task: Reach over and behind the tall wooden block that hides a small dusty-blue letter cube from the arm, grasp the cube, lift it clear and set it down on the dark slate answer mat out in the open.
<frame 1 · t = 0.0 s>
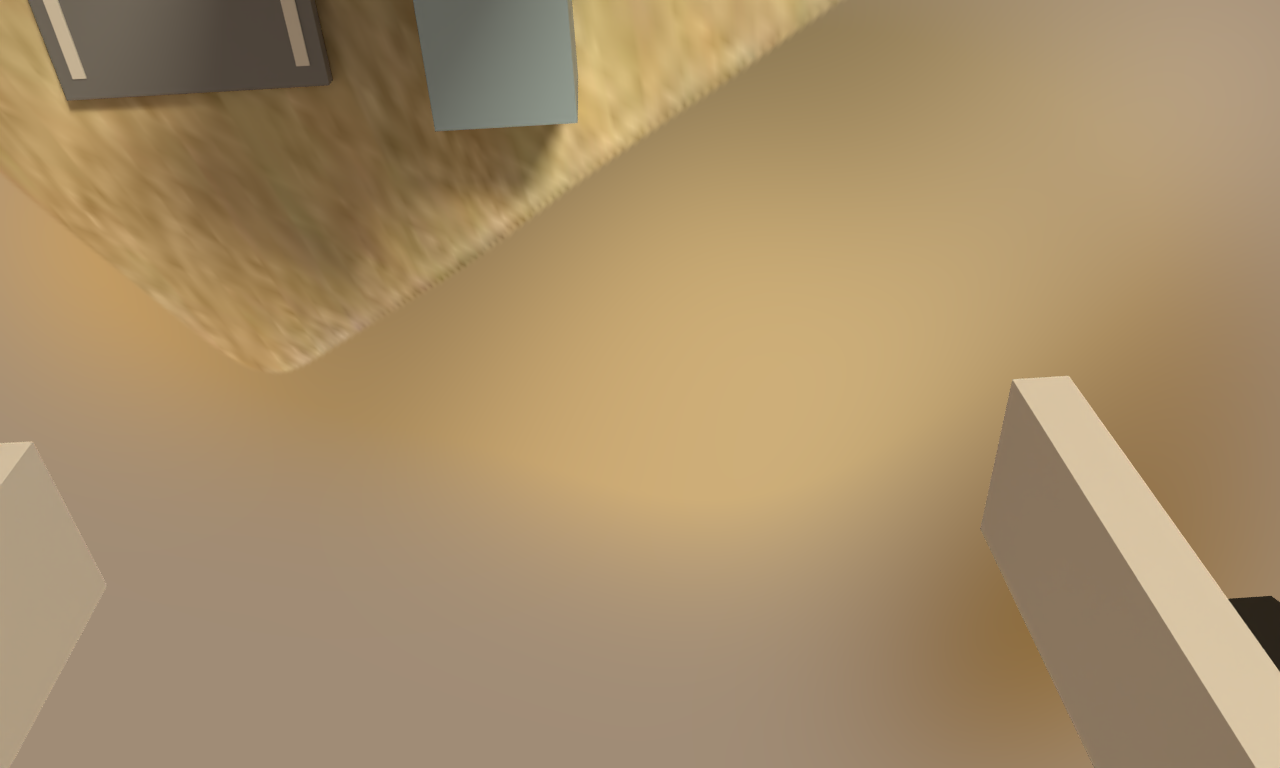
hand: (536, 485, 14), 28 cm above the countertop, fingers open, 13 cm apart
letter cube: (506, 15, 37), on the countertop
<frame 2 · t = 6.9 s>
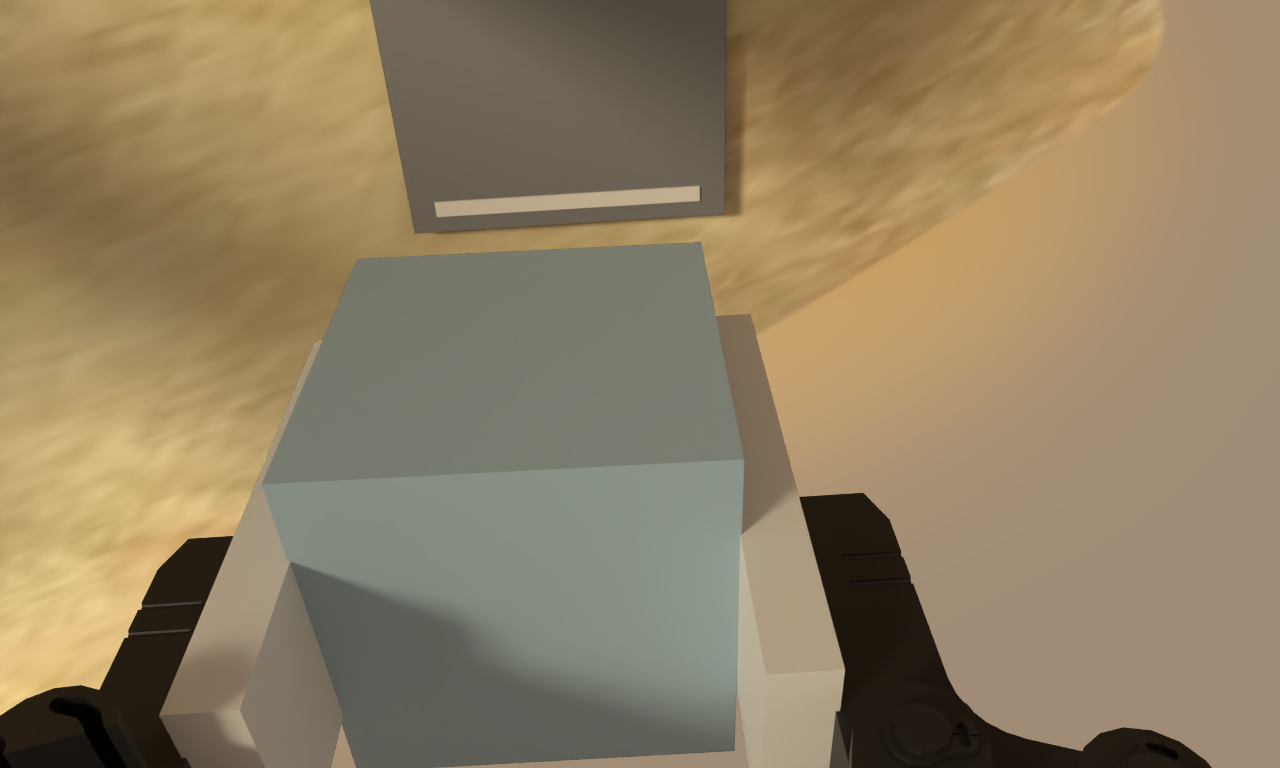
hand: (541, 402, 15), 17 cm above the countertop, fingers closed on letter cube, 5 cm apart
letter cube: (544, 390, 16), point 17 cm above the countertop, touching gripper
answer mat: (556, 62, 29), on the countertop
when the fingers open (1 cm above the countertop, at t = 9.5 s): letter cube stays where it is, resting on answer mat.
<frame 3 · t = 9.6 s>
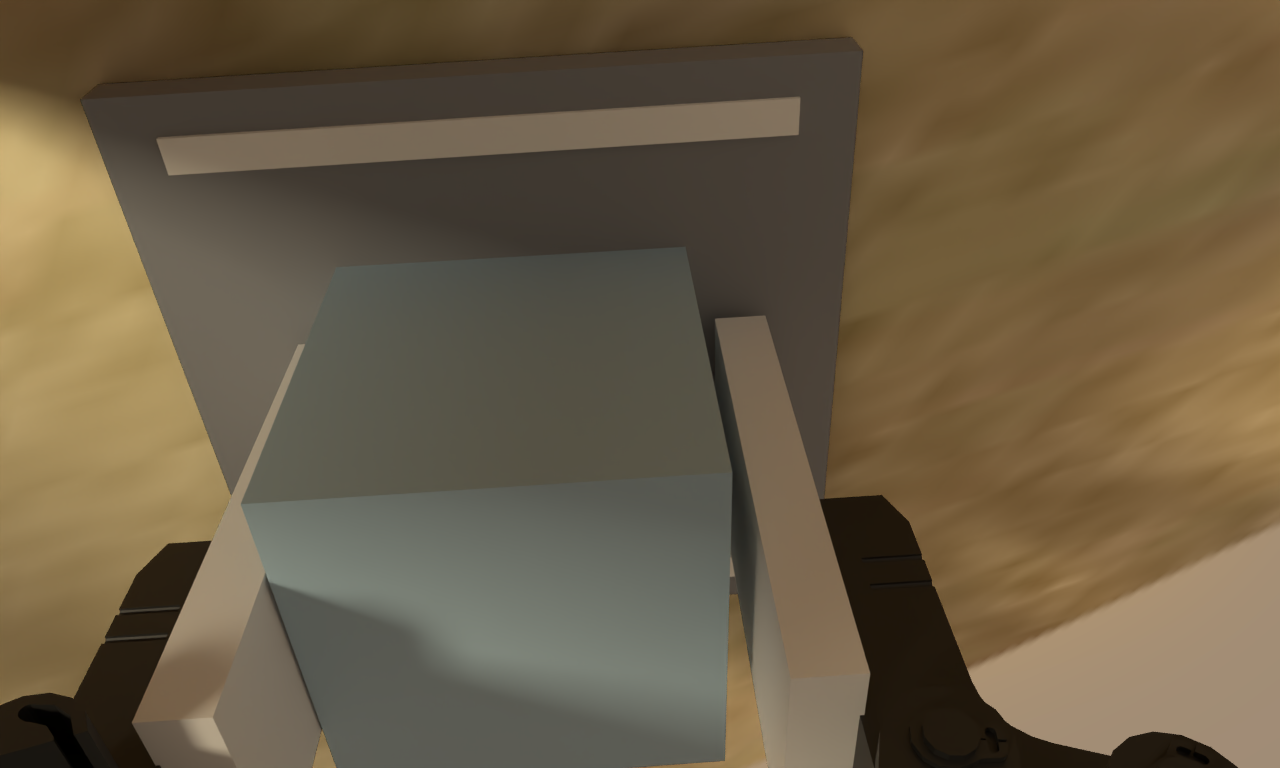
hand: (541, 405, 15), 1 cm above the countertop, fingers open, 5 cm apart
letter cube: (529, 397, 15), point 1 cm above the countertop, touching answer mat, gripper
answer mat: (521, 369, 16), on the countertop
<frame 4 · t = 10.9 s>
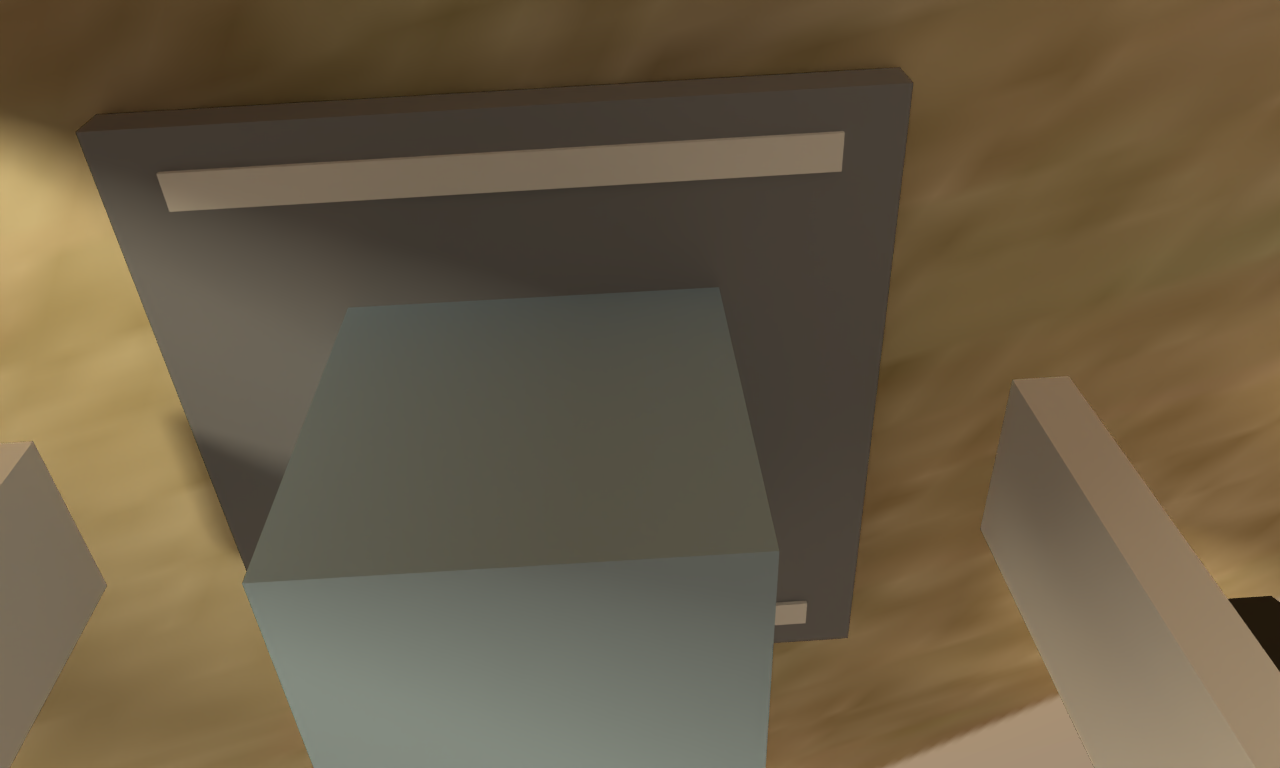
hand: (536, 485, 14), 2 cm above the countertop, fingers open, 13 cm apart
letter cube: (550, 442, 15), point 1 cm above the countertop, touching answer mat
answer mat: (541, 412, 15), on the countertop
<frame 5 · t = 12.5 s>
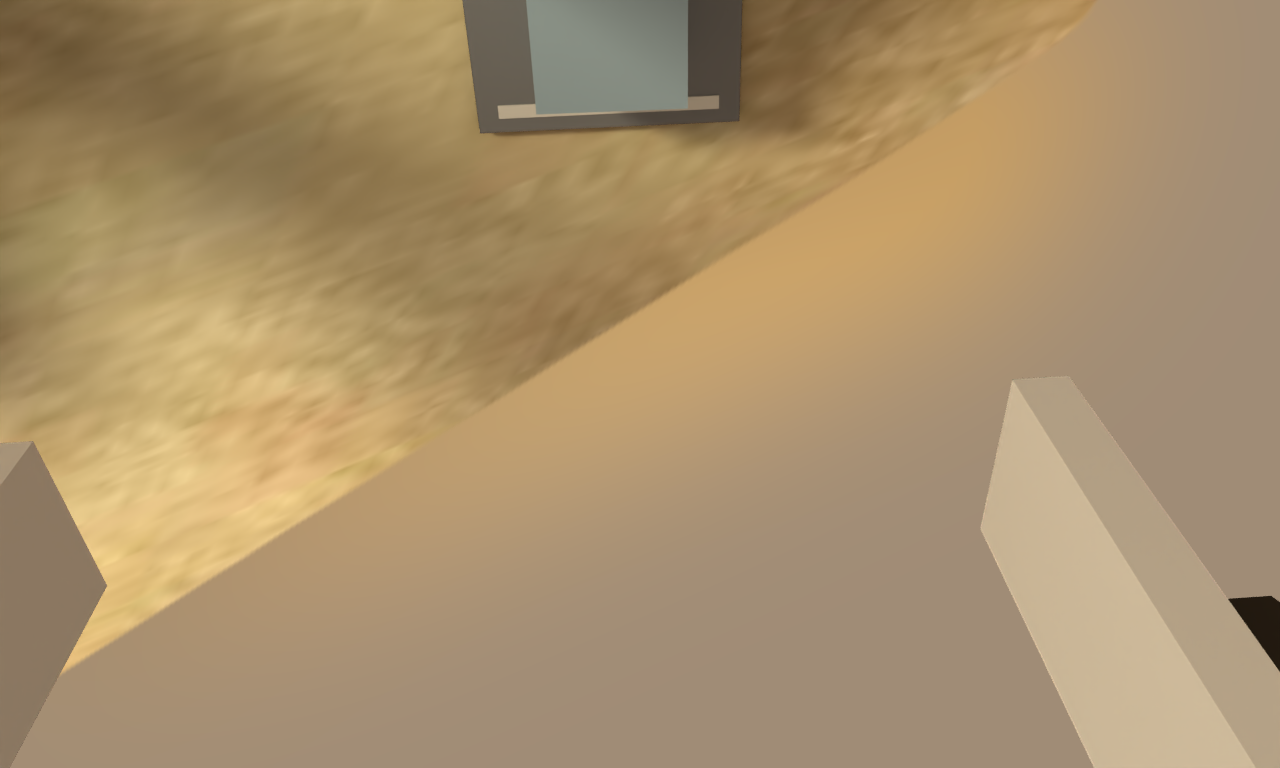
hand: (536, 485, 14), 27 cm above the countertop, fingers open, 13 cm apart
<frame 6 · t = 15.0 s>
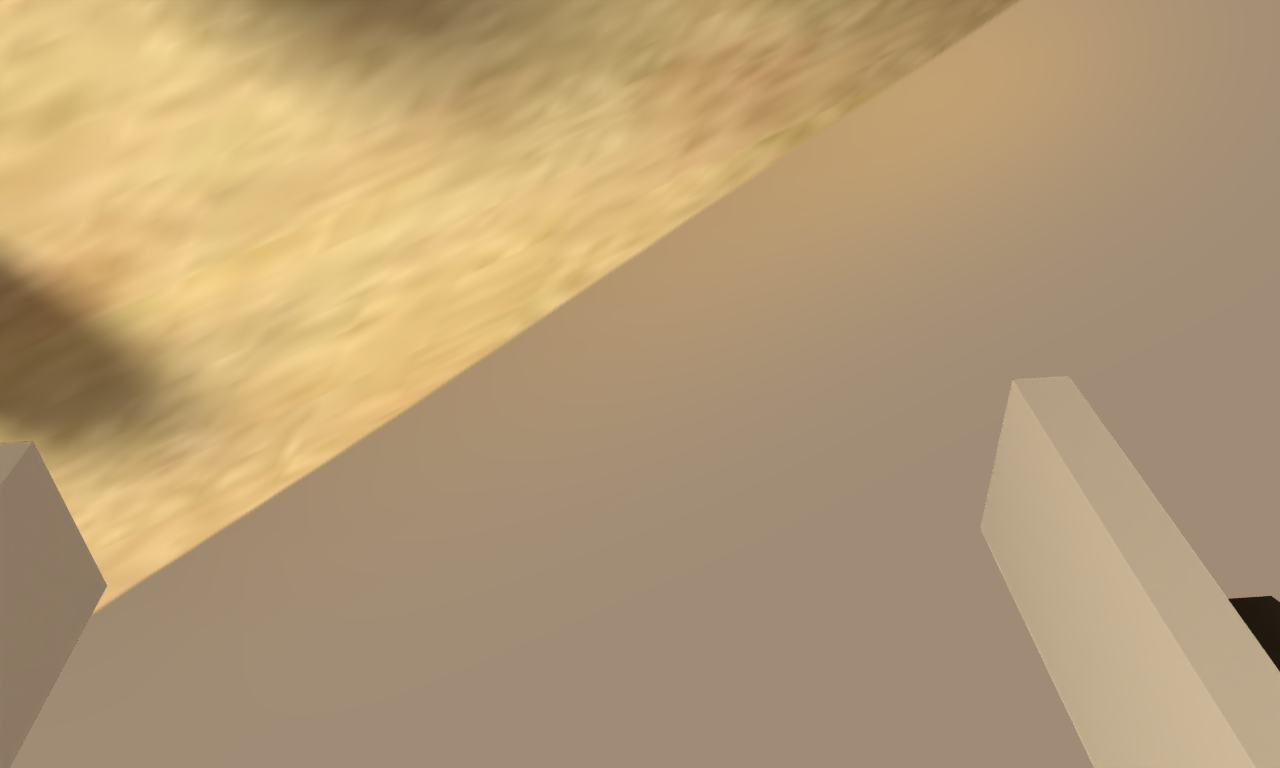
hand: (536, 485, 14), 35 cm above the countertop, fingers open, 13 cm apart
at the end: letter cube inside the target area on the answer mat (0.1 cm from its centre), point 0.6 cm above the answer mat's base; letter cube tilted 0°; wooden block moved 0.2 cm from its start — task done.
